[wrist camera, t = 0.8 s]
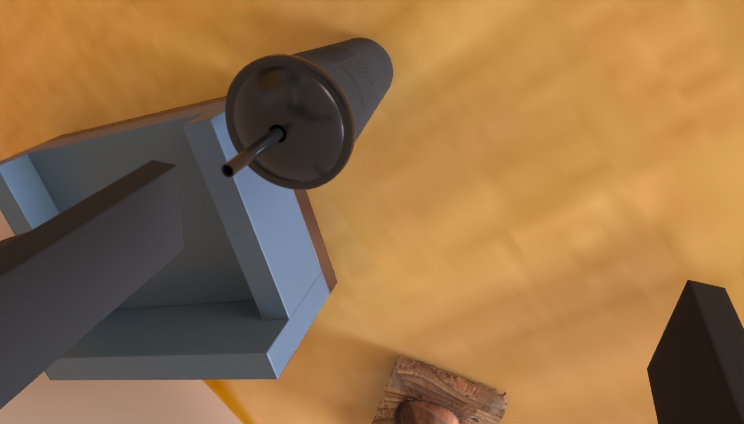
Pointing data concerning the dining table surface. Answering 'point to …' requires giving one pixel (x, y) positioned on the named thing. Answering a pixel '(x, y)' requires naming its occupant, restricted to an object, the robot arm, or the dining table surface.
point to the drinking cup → (304, 111)
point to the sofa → (185, 252)
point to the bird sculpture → (436, 397)
